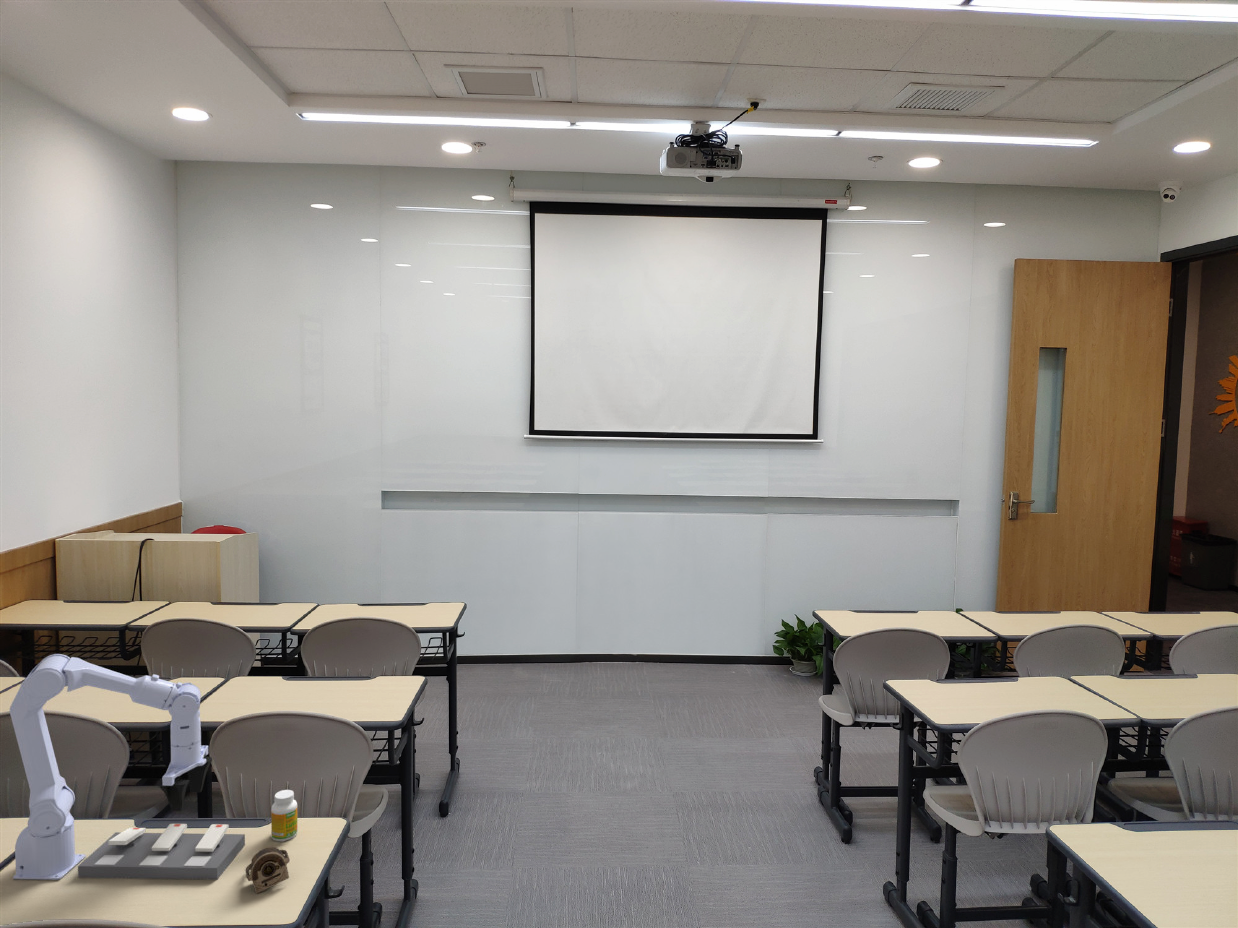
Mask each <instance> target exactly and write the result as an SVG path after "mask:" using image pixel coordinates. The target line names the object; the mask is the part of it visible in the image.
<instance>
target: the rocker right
mask: <svg viewBox="0 0 1238 928" xmlns="http://www.w3.org/2000/svg"><path fill="white" fill-rule="evenodd" d="M229 826H230V825H229V824H225V823H224V824H222V823H220V824H219V823H215V824H213V823H212V824H211V825H210V826H209V828H208V829H207V830H206V832H205V833H204V834H205V835H204V836H203V838H202V839H201V840H200V842H199V843H198V845H197V846H196V848H195V851H202V852H213V851H214V849H215V848H216V846H217V845H218V843H219V842H220V840H221V839H222V837H223V836H224V834H227V831H228V829H229V828H230V827H229Z"/></svg>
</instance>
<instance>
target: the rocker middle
mask: <svg viewBox="0 0 1238 928" xmlns="http://www.w3.org/2000/svg"><path fill="white" fill-rule="evenodd" d="M187 828H188V825H187V823H169V825H168V826H167V827H166V828H165V830H164V831H163V832H162V833H163V834H162V835H161V836H160V837H159V839H158V840H157V841H156V843H155V844H154V845H153V846H152V851H170V850H171V848H172V847H173V846H174V844H175V843H176V842H177V840H178V839H179V837H180V836H181V835H182V833H184V832H185V830H186V829H187Z"/></svg>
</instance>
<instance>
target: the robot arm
mask: <svg viewBox="0 0 1238 928" xmlns="http://www.w3.org/2000/svg"><path fill="white" fill-rule="evenodd" d="M87 686H89V687H91V688H92V687H93V688H97V689H101V690H107V691H111V692H115V693H116V692H117V693H121V694H126V695H128V696H129V697H130V699H131V701H132V703H136V704H140V705H143V706H147V707H151V708H154V709H159V710H161V711H168V713H169V715H170V716H171V722H170V762H169V765H168V768H167V770H166V772H165V773H164V775H163V776H162V778H161V780H160V781H159V782H158V787H159V788H160V789H161V790H162V792H163V793H164V795H165V796H166V799H167V801H168V804H169V807H170V809H171V812H182V810H183V809H184V805H185V796H186V791H187V787H188V786H189V790H190V792H191V793H201V792H202V791H203V787H204V783H205V779H206V775H207V773H208V770H209V767H210V765H211V764H212V762H213V757H212V756H207V755H209V745H202V731H201V730H202V729H201V725H202V723H201V721H202V719H201V717H200V716H201V711H200V707H201V698H202V694H201V689H200V688H199V687H198V686H197V685H195V684H193V683H191V682H183V683H182V682H179V681H178V682H176V683H175V682H171V681H169V680H165V679H161V678H160V675H158V674H152V676H150V675H142V676H141V677H137V678H135V677H133V676H129V675H128V674H127V675H126V674H123V673H120V672H117V671H114V670H111V669H108V668H105V667H103V666H99V665H96V664H94V663H90V662H88V661H86V660H83V659H81V658H80V657H74V656H71V657H69V656H68V655H65V654H61V653H54V654H50V655H48V656H46V657H44V658H43V659H42V660H41V661H40V662H39V663H37V665H35V667H34V668H32V670H31V671H30V672H29V674H28V675H27V676H26V678H25V679H24V680H23V681H22V683H21V684H20V685H19V689H18V690H17V692H16V695H15V696H14V698H13V700H12V702H11V704H10V707H9V714H10V718H11V722H12V723H11V724H12V726H13V729H14V730H13V731H14V734H15V737H16V741H17V744H18V748H19V749H18V750H19V752H20V756H21V760H22V765H23V768H24V771H25V776H26V779H27V783H28V786H29V800H28V808H29V816H28V817H29V818H28V820H27V826H26V827H25V828H24V829H22V831H20V833H19V835H18V836H17V838H16V842H15V846H14V854H15V859H14V860H15V874H14V875H13V876H12V878H13V880H54V881H55V880H61V879H62V878H63V877H64V876H65V875H67V874H68V873H69V872H70V871H71V870H72V869H73V868H74V867H75V866H77V865H78V864H79V863H80V862H82V860H83V859H86V854H84V853H83V854H81V853H76V847H75V845H76V841H75V818H74V817H73V816H72V814H71V812H70V811H71V809H72V807H73V805H74V804H75V801H76V797H75V793H74V791H73V790H72V789H71V788H70V787H69V786H68V785H67V783H66V779H65V777H62V776H61V774H60V771H59V767H58V763H57V758H56V756H55V755H56V754H55V751H54V747H53V743H52V740H51V739H52V738H51V736H50V732H49V731H50V730H49V728H48V724H47V720H46V716H45V711H44V708H43V707H44V706H45V705H46V703H47V702H48V701H50V700H51V699H53V698H55V697H56V696H57V695H59V694H61V692H62V691H63V690H64V689H65V687H67V688H66V689H67V690H66V692H67V693H70V692H72V691H75V690H78V689H80V688H81V689H82V688H83V687H87ZM185 773H187V777H188V779H183V778H182V777H181V776H182V775H183V774H185Z"/></svg>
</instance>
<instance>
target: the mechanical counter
mask: <svg viewBox="0 0 1238 928" xmlns="http://www.w3.org/2000/svg"><path fill="white" fill-rule="evenodd" d="M289 863H290V856H289V853H288V851H287V850H286V849H279V848H278V847H276V846H270V847H264V848H262V849H261V850H259V851H257V852H256V853H255V854H254V855H253V856H252V858H251V862H250V864H248V865H247V866H246V867H245V875H246V879H247V881H248V882H252V884H253V888H254V891H255V893H256V894H259V893H261V892H263V891H265V890H268V889H269V888H271V887H273V886H275V885H277V884H280V883H282V882H284V881H286V880H288V879H289V878H290V875H289V871H288V866H287V865H288V864H289Z"/></svg>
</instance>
